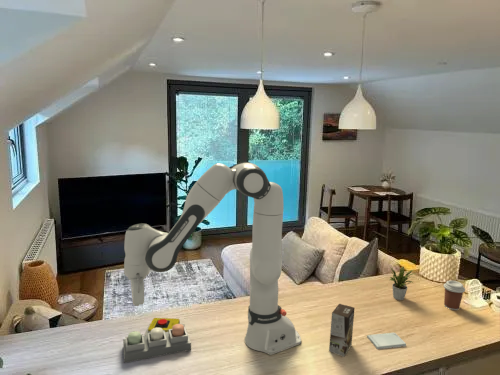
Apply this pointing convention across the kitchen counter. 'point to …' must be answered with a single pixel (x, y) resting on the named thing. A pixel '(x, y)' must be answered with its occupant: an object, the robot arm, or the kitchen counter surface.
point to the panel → (156, 346)
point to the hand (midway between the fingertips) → (136, 304)
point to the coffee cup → (453, 294)
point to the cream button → (156, 334)
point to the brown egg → (178, 330)
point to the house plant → (400, 283)
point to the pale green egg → (134, 338)
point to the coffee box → (341, 329)
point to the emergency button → (162, 324)
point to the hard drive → (386, 340)
